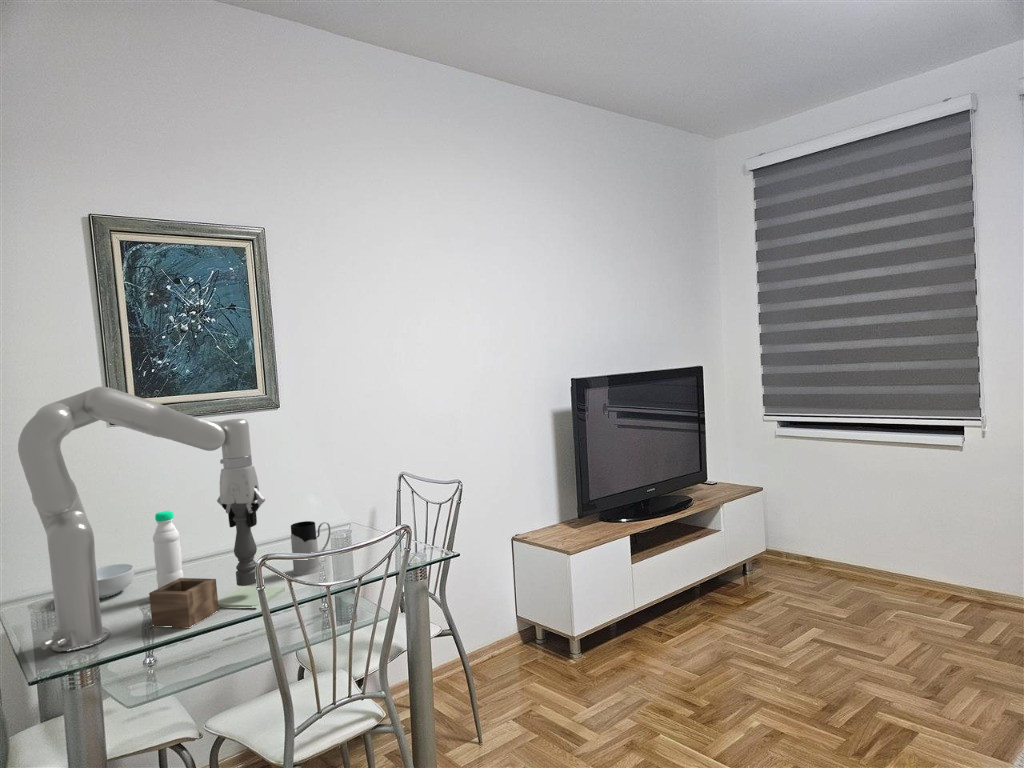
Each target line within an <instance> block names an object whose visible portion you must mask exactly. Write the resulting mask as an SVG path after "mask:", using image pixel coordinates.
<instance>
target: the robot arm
mask: <svg viewBox="0 0 1024 768" xmlns="http://www.w3.org/2000/svg"><path fill="white" fill-rule="evenodd" d="M98 421H103V422H104V423H105V422H106V423H109V424H112V425H116V426H120V427H123V428H126V429H130V430H132V431H134V432H135V431H136V432H139V433H141V434H142V433H143V434H145V435H149V436H153V437H157V438H161V439H166V440H171V441H172V442H173V441H174V442H177V443H180V444H182V445H183V444H184V445H187V446H189V447H193V448H196V449H200V450H203V451H207V452H212V451H216V450H218V449H220V448H221V453H222V454H221V456H222V458H221V459H220V460H219V462H220V463H219V464H221V465H223V468H221V469H220V475H219V496H218V498H217V499H216V502H217V503H218V504H219V505H220V506H221V507H222V508H223V510H225V513H226V514H227V515H228V525H229V528H234V527H236V523H235V521H233V517H234V516H235V514H234V512H233V511H232V509H231V504H233V503H235V501H236V503H237V504H246V506H247V509H248V512H249V513H248V514H247V521H248V527H251V528H253V527H255V526H257V523H258V522H257V521H258V520H257V519H258V518H257V512H258V510H259V508H260V507H261V506H262V505H263V504H264V502H265V501H266V498H265V497H264V496H263V494H262V493H261V492H260V486H259V481H258V476H257V471H256V468H255V466H254V465H253V461H252V460H253V459H252V458H253V457H252V449H251V437H250V426H249V421H248V420H247V419H245V418H231V419H226V420H221V421H218V420H217V421H212V420H211V421H208V420H206V419H205V420H204V419H202V418H199V417H196V416H193V415H189V414H186V413H183V412H181V411H178V410H176V409H173V408H171V407H169V406H166V405H163V404H161V403H159V402H155V401H151V400H150V399H146V398H143V397H140V396H137V395H134V394H131V393H128V392H125V391H121V390H118V389H115V388H112V387H107V386H97V387H93V388H91V389H89V390H85V391H83V392H81V393H77V394H75V395H72V396H69V397H65V398H63V399H59V400H57V401H55V402H50V403H48V404H46V405H44V406H42V407H40V408H39V409H38V410H37V411H36V413H35V415H33V416H32V417H31V418H30V420H28V421H27V423H26V424H25V425H24V427H23V429H22V431H21V433H20V435H19V437H18V443H17V451H18V457H19V461H20V464H21V466H22V469H23V472H24V476H25V479H26V481H27V484H28V487H29V490H30V493H31V498H32V499H31V500H32V502H33V505H34V507H35V508H36V510H37V512H38V515H39V518H40V520H41V523H42V525H43V528H44V531H45V535H46V539H47V549H48V556H49V557H48V558H49V565H50V576H51V585H52V592H53V593H52V594H53V603H54V613H55V620H56V622H55V623H56V630H54V631H53V635H52V636H51V637H50V638H49V639H46V640H44V641H42V642H41V643H40V649H41V650H42V651H43V650H44V651H45V650H48V649H49V648H51V649H52V651H55V652H58V653H59V652H61V651H67V650H69V649H73V648H76V647H80V646H84V645H90V644H95V643H98V642H100V641H102V642H104V641H105V640H107V639H108V638H109V637H110V635H111V632H110V631H111V630H110V628H108V627H106V626H103V622H102V613H101V612H102V611H101V603H100V599H99V592H98V582H97V573H96V567H97V564H96V549H95V535H94V531H93V528H92V526H91V524H90V521H89V519H88V516H87V515H86V512H85V509H84V507H83V502H82V501H81V498H80V495H79V493H78V489H77V486H76V484H75V482H74V481H73V479H72V478H71V476H70V474H69V471H68V468H67V466H66V463H65V459H64V456H63V453H62V450H61V449H62V448H61V444H62V441H63V439H64V438H65V437H66V436H68V435H69V434H70V433H72V431H75V430H78V429H80V428H82V427H86V426H88V425H91V424H94V423H96V422H98ZM251 505H252V506H251ZM107 637H108V638H107ZM106 638H107V639H106ZM104 639H105V640H104ZM103 640H104V641H103ZM100 643H101V642H100ZM98 644H99V643H98ZM67 652H68V651H67ZM61 653H62V652H61Z"/></svg>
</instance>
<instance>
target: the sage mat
mask: <svg viewBox="0 0 1024 768" xmlns="http://www.w3.org/2000/svg"><path fill="white" fill-rule="evenodd" d="M256 587H257V586H253V585H248V586H240V587H239V588H238V589H237V588H236V590H234V591H232V592H230V593H229V594H227V595H225V596H223V597H222V598H220V599H218V607H252V606H258V605H259V601H258V595H257V591H256ZM264 587H265V591H266V595H267V599H268V602H270V601H271V600H273V599H275V598H276V597H278V596H279V595H280V594H282V593H283V592H286V588H285V586H264ZM272 598H273V599H272ZM269 600H270V601H269Z"/></svg>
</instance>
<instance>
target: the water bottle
mask: <svg viewBox="0 0 1024 768" xmlns="http://www.w3.org/2000/svg"><path fill="white" fill-rule="evenodd" d="M154 517H155V519H154V520H155V521H156V523H157V526H156V528H155V532H154V534H153V536H152V541H153V553H154V563H155V568H156V583H157V589H158V588H161V587H163V586H165V585H167V584H169V583H171V582H173V581H175V580H177V579H179V578H184V572H183V569H182V568H183V560H182V559H183V558H182V549H181V543H180V532H179V531H178V529H177V528H176V526H175V524H174V523H173V520H174V512H173V511H171V510H163V511H158V512H156V513H155V515H154Z"/></svg>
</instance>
